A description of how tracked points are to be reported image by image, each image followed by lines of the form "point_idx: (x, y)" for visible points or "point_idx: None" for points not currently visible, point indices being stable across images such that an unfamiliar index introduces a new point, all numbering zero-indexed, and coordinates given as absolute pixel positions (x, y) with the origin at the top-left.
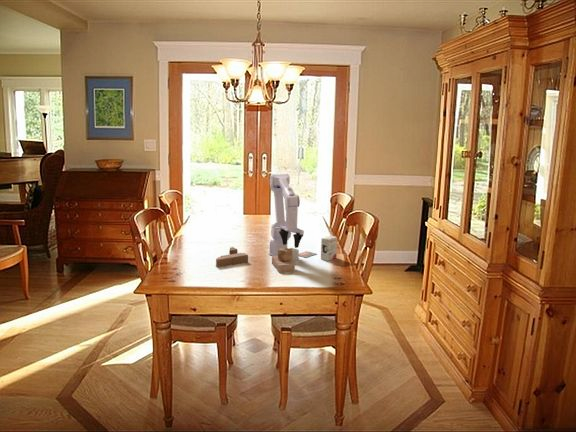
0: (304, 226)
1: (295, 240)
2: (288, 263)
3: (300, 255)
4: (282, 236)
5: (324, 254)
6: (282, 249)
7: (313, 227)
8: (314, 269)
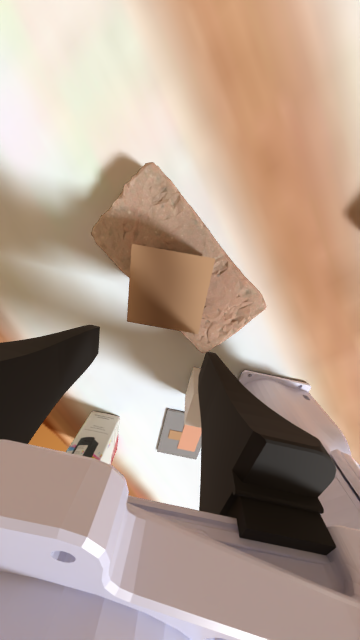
0: None
1: (26, 343)
2: (126, 233)
3: None
4: (234, 395)
5: (94, 432)
6: (185, 281)
7: None
8: (68, 314)
